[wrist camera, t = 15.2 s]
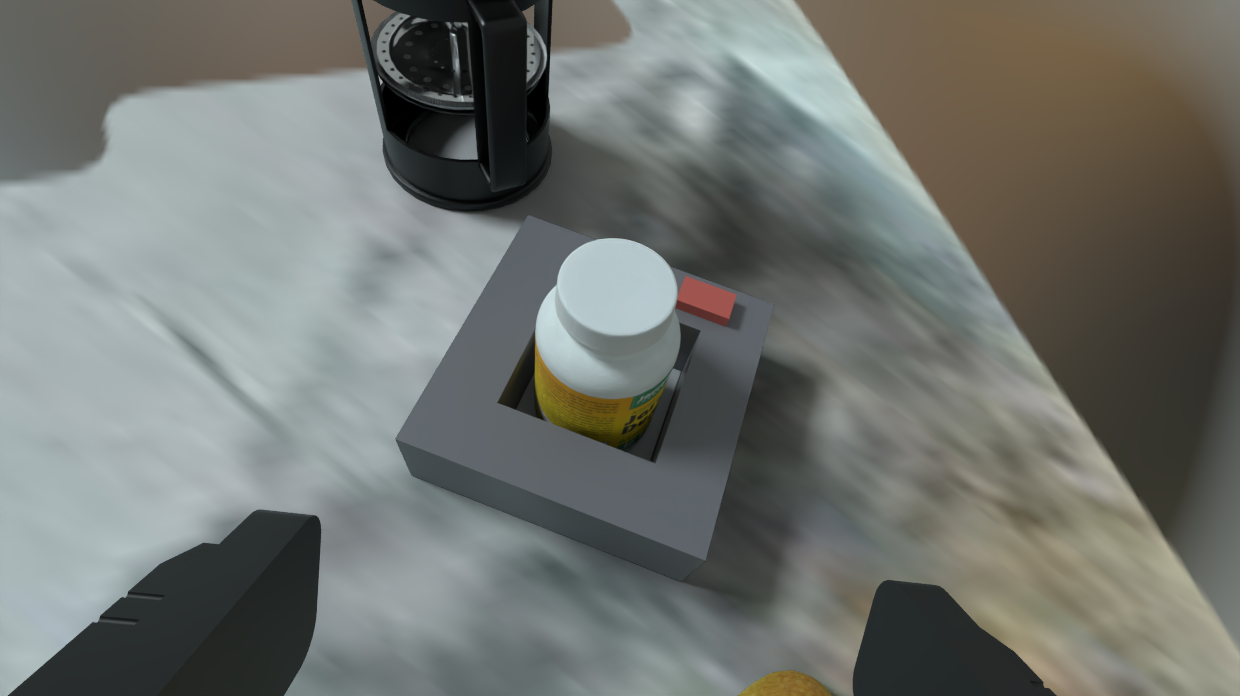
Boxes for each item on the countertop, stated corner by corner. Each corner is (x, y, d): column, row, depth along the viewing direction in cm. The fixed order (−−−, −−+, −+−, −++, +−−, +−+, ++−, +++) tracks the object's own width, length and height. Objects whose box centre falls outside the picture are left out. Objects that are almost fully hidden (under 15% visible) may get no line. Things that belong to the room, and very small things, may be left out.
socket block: (411, 475, 26) (392, 432, 22) (527, 267, 33) (528, 205, 29) (681, 581, 26) (709, 556, 22) (747, 348, 32) (778, 296, 28)
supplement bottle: (565, 340, 30) (579, 198, 22) (667, 384, 30) (720, 256, 22) (511, 433, 28) (505, 311, 19) (623, 484, 27) (666, 380, 19)
